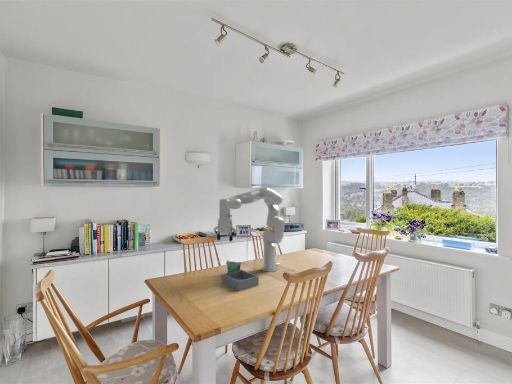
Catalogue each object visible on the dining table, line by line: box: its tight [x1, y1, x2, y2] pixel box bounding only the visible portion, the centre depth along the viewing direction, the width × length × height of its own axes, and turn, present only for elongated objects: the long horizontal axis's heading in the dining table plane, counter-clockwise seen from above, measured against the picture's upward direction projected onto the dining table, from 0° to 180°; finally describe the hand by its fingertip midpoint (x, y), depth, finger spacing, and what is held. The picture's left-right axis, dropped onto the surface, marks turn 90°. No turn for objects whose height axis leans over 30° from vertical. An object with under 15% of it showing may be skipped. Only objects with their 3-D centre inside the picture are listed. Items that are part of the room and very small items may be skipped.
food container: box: [225, 259, 242, 273], centre depth 203 cm, size 12×6×10 cm, turn 62°
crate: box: [221, 269, 259, 292], centre depth 184 cm, size 17×19×6 cm
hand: (224, 240), depth 191 cm, fingers open, 9 cm apart
